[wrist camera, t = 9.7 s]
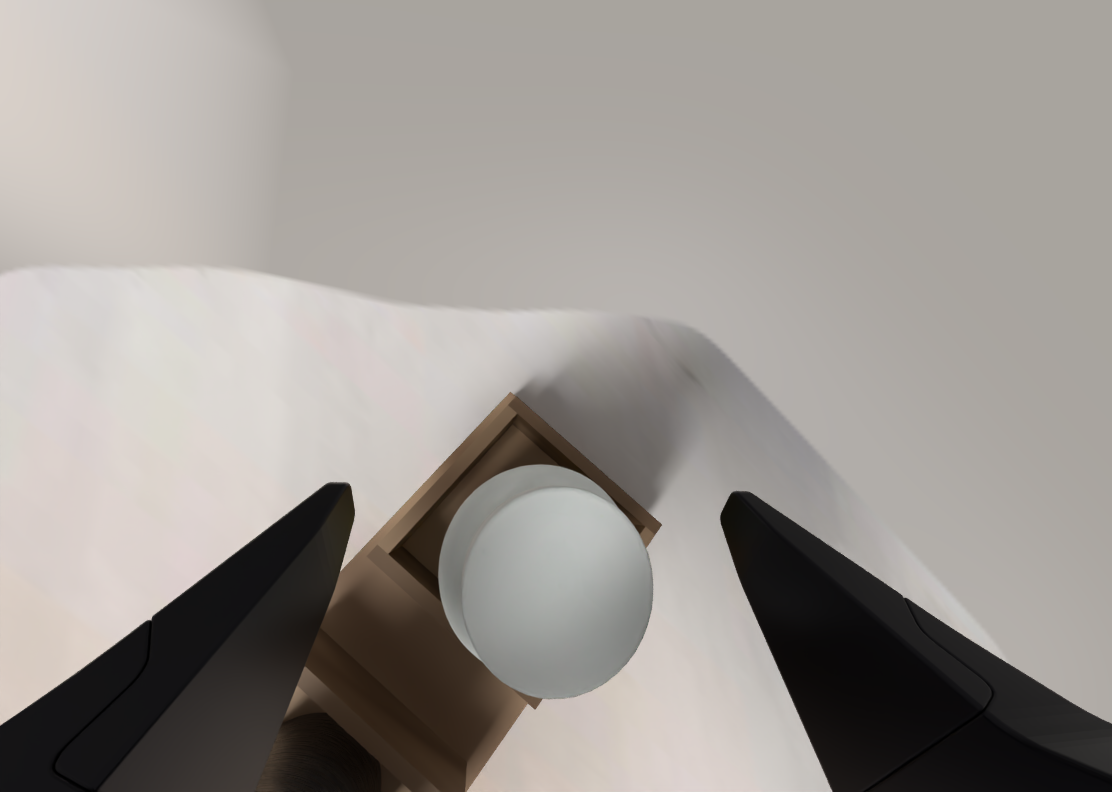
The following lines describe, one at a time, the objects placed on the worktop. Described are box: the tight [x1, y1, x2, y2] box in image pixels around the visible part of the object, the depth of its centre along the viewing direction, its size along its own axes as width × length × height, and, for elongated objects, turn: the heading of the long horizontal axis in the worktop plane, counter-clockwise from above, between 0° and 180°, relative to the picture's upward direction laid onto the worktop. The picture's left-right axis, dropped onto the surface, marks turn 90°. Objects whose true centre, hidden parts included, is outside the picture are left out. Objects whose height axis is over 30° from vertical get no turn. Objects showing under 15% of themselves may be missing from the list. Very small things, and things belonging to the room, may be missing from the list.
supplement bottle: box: [438, 464, 653, 699], centre depth 13 cm, size 5×5×10 cm
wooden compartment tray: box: [282, 392, 662, 792], centre depth 15 cm, size 20×9×4 cm, turn 140°
